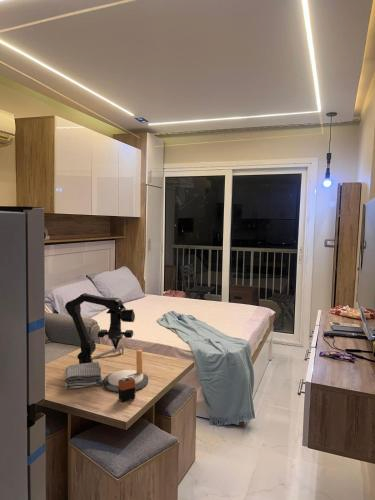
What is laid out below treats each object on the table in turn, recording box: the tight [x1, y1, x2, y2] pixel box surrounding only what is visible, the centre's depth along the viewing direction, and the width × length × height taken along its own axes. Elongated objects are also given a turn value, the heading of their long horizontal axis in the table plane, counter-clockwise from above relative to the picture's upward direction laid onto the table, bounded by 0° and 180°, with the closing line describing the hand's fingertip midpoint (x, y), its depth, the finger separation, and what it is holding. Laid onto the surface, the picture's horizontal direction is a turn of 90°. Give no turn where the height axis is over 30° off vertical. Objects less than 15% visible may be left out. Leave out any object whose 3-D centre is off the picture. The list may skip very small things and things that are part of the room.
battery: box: [118, 377, 136, 403], centre depth 168 cm, size 4×7×10 cm, turn 123°
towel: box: [64, 361, 104, 390], centre depth 185 cm, size 15×18×8 cm
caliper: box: [92, 343, 125, 360], centre depth 221 cm, size 20×1×6 cm, turn 120°
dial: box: [108, 349, 143, 387], centre depth 185 cm, size 18×18×13 cm
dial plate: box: [102, 371, 149, 394], centre depth 185 cm, size 23×23×2 cm
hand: (115, 348), depth 200 cm, fingers closed
